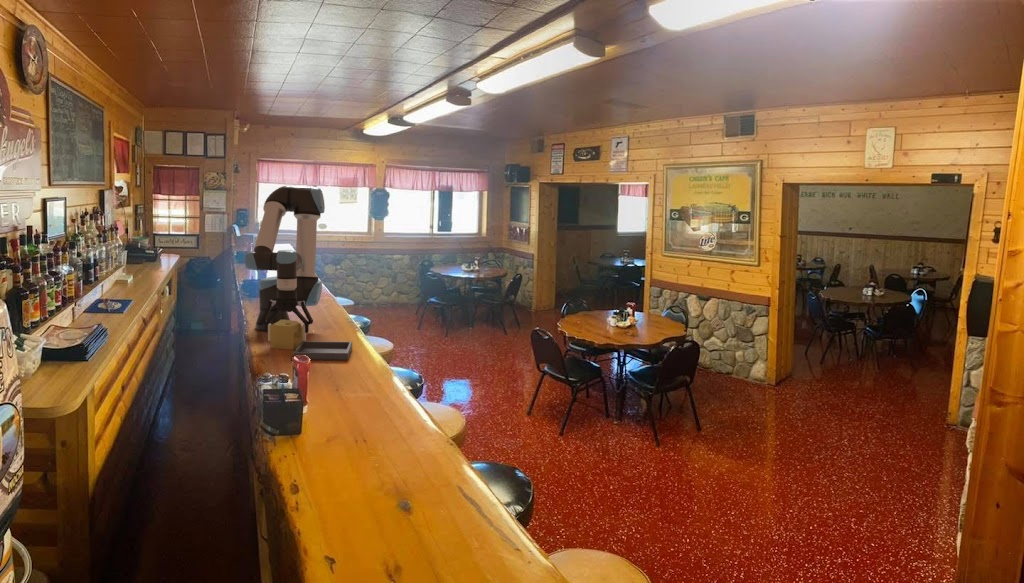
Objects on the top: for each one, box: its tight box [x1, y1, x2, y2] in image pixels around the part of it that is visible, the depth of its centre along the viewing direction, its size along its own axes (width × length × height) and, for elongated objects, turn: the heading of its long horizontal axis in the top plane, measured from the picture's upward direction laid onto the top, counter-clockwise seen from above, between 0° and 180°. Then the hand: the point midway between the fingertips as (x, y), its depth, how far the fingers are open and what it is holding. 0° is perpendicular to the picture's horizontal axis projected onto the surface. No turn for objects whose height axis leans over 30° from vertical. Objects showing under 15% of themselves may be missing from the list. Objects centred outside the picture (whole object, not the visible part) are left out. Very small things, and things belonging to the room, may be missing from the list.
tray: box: [292, 340, 353, 362], centre depth 254 cm, size 18×20×3 cm
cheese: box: [269, 319, 303, 351], centre depth 262 cm, size 10×11×10 cm
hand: (287, 340), depth 262 cm, fingers open, 13 cm apart
